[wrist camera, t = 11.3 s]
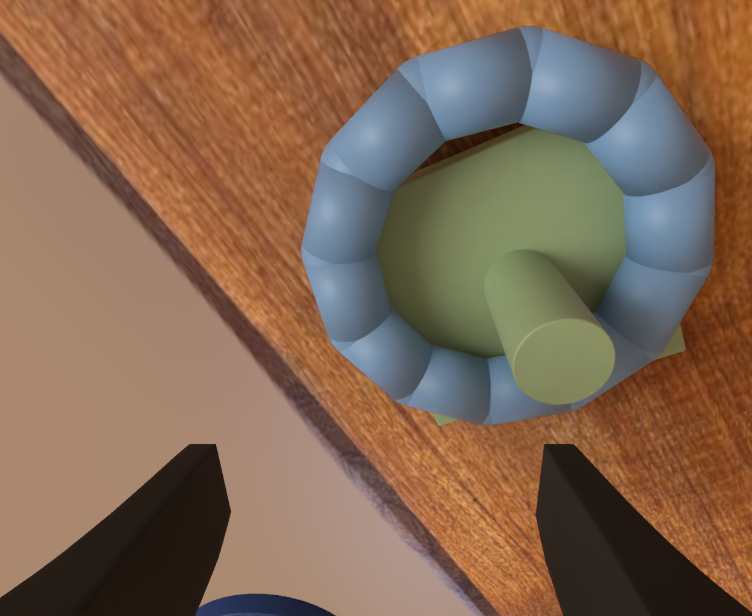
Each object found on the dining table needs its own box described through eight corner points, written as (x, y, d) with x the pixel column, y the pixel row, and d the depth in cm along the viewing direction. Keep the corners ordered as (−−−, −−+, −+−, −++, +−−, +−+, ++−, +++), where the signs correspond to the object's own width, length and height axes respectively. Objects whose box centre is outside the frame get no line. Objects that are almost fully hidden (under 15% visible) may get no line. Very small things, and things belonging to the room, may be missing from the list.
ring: (472, 448, 19) (479, 490, 17) (239, 238, 16) (216, 260, 14) (762, 250, 16) (814, 276, 14) (530, -74, 12) (554, -102, 10)
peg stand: (437, 408, 20) (449, 537, 15) (342, 202, 17) (311, 266, 11) (670, 334, 18) (788, 450, 13) (615, 85, 15) (742, 93, 9)
